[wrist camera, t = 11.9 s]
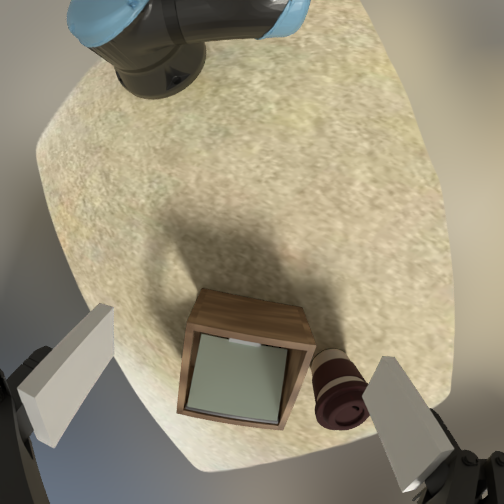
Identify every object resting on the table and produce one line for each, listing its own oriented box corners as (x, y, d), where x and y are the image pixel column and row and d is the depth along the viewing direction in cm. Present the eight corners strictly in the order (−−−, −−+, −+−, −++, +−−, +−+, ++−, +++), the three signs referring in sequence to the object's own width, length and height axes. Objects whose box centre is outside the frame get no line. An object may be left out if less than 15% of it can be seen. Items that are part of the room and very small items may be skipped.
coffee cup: (308, 388, 53) (322, 443, 39) (298, 350, 51) (312, 405, 36) (356, 374, 53) (381, 424, 38) (350, 334, 50) (379, 383, 36)
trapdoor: (200, 334, 46) (200, 333, 45) (287, 350, 47) (288, 349, 46) (185, 408, 40) (185, 409, 39) (276, 423, 41) (277, 424, 40)
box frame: (201, 288, 48) (186, 322, 36) (302, 307, 49) (316, 345, 37) (189, 369, 52) (176, 413, 40) (277, 384, 53) (282, 430, 41)
